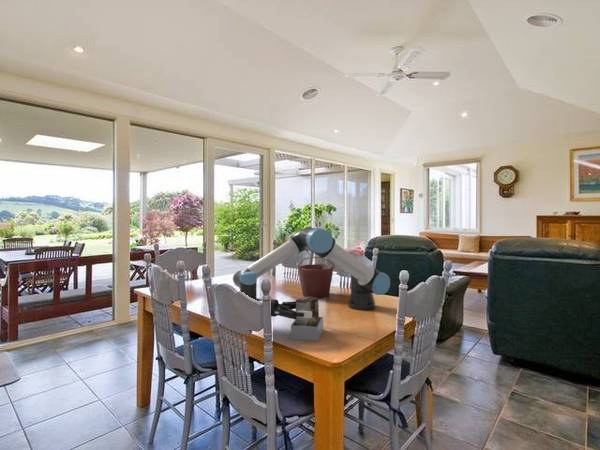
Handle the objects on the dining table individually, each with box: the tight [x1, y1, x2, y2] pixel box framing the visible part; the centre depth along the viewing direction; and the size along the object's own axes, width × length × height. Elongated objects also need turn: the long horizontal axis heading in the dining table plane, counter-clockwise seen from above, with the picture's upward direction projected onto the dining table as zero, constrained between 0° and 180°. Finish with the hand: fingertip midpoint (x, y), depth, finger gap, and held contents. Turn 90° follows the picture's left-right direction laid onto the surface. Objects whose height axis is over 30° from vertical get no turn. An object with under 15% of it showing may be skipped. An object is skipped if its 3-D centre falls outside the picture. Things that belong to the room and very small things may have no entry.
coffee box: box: [295, 296, 320, 327], centre depth 155 cm, size 9×6×16 cm
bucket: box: [295, 256, 336, 300], centre depth 227 cm, size 24×22×25 cm
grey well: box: [290, 316, 324, 342], centre depth 156 cm, size 12×15×6 cm
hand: (314, 310), depth 155 cm, fingers open, 13 cm apart
